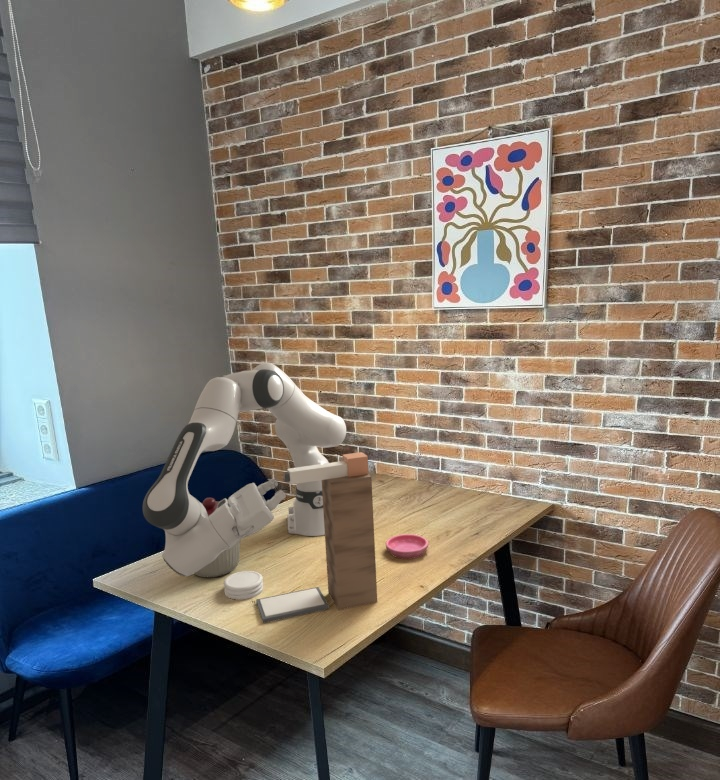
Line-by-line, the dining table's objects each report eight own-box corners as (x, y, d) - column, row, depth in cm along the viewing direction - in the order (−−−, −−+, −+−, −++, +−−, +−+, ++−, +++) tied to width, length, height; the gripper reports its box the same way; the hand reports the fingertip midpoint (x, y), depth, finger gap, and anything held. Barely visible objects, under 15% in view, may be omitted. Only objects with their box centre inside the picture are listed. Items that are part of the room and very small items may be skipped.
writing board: (256, 603, 148) (256, 598, 148) (318, 590, 153) (318, 586, 153) (263, 623, 139) (262, 618, 139) (328, 608, 144) (328, 604, 143)
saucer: (406, 565, 165) (406, 555, 164) (377, 552, 175) (376, 542, 174) (437, 552, 173) (437, 542, 172) (407, 540, 182) (407, 530, 182)
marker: (282, 480, 141) (281, 463, 140) (362, 469, 147) (361, 452, 147) (286, 486, 137) (285, 467, 136) (368, 473, 143) (367, 456, 142)
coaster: (218, 590, 156) (217, 578, 156) (252, 578, 162) (251, 566, 161) (235, 605, 148) (233, 592, 148) (270, 591, 154) (269, 579, 153)
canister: (259, 568, 168) (254, 496, 164) (201, 591, 156) (194, 515, 152) (227, 550, 181) (221, 483, 178) (171, 570, 169) (163, 499, 166)
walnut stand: (328, 593, 151) (321, 472, 146) (365, 585, 154) (359, 466, 149) (338, 610, 143) (330, 482, 138) (377, 601, 146) (371, 476, 141)
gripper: (227, 529, 126) (280, 489, 128) (218, 499, 145) (265, 465, 147) (244, 551, 127) (296, 511, 130) (233, 518, 147) (279, 484, 149)
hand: (279, 486), depth 139 cm, fingers open, 8 cm apart
